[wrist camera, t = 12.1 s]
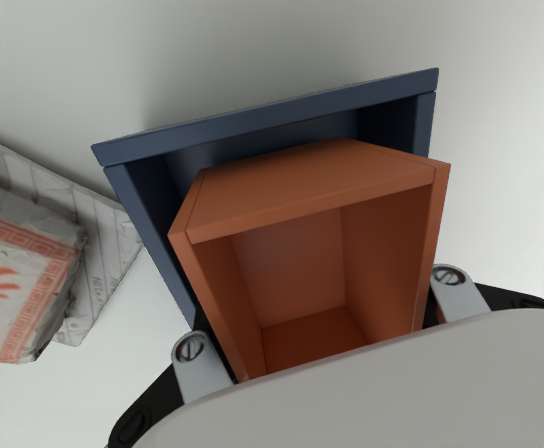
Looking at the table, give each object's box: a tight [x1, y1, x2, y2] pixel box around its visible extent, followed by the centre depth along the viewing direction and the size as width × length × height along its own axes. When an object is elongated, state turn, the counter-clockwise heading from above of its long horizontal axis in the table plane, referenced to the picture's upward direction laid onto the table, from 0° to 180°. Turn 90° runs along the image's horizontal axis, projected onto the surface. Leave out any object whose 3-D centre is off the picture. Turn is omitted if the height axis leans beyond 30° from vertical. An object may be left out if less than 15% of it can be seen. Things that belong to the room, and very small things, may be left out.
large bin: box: [91, 67, 439, 385], centre depth 13 cm, size 15×11×5 cm
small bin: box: [167, 136, 451, 384], centre depth 10 cm, size 11×7×6 cm, turn 11°
